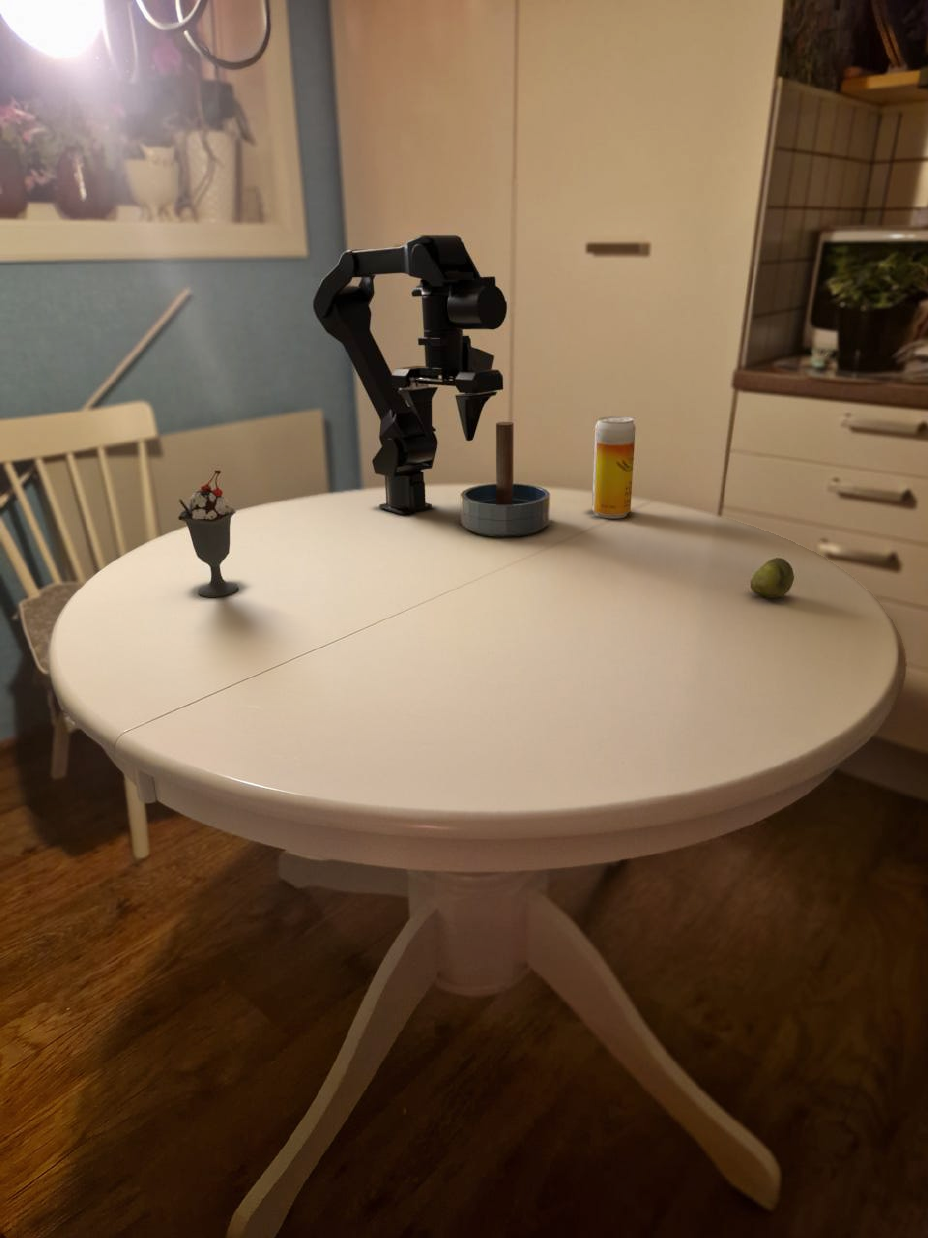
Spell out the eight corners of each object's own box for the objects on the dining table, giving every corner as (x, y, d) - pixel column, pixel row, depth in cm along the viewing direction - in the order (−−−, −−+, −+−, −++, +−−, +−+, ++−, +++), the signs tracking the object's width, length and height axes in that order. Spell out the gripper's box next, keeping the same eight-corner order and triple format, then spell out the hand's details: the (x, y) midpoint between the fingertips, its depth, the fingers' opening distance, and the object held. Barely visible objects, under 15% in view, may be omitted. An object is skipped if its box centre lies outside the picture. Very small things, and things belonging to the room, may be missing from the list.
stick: (484, 522, 133) (483, 423, 127) (504, 516, 135) (504, 419, 130) (505, 527, 130) (505, 427, 124) (524, 521, 132) (526, 422, 127)
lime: (746, 600, 103) (750, 560, 101) (758, 588, 106) (763, 549, 104) (784, 607, 100) (790, 567, 98) (795, 594, 104) (801, 555, 102)
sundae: (255, 583, 111) (241, 468, 105) (225, 602, 105) (209, 480, 99) (211, 578, 113) (195, 464, 107) (180, 596, 107) (161, 477, 101)
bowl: (443, 526, 133) (442, 494, 131) (503, 508, 142) (503, 478, 140) (506, 544, 124) (506, 510, 122) (566, 524, 133) (567, 493, 131)
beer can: (633, 519, 135) (639, 422, 129) (594, 519, 135) (598, 422, 129) (627, 508, 140) (632, 415, 134) (589, 509, 140) (593, 415, 135)
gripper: (528, 325, 124) (530, 435, 129) (441, 325, 136) (446, 425, 142) (472, 331, 117) (477, 447, 122) (386, 330, 129) (393, 435, 135)
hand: (448, 437), depth 131 cm, fingers open, 9 cm apart
